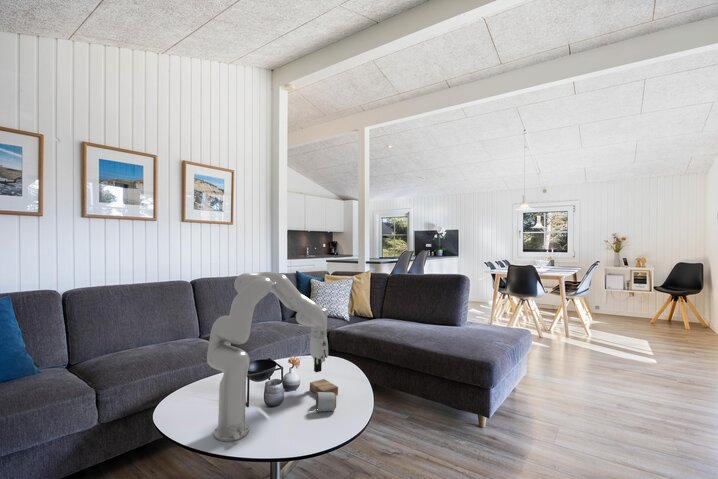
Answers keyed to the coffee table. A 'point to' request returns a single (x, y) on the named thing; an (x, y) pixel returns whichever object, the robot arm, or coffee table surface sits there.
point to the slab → (323, 387)
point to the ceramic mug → (325, 401)
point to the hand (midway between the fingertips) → (317, 371)
